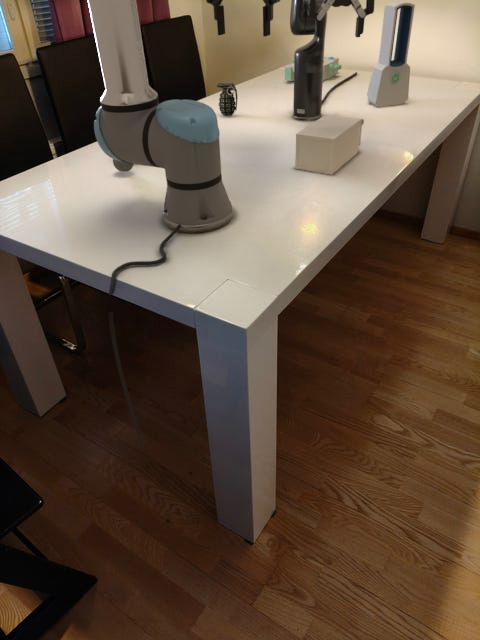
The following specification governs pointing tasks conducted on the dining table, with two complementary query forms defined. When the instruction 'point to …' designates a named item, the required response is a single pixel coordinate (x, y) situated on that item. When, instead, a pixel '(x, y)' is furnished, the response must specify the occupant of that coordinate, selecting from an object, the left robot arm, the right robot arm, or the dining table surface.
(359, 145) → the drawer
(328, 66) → the decorative block
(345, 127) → the cabinet
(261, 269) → the dining table surface
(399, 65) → the electronic device
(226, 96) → the grenade
